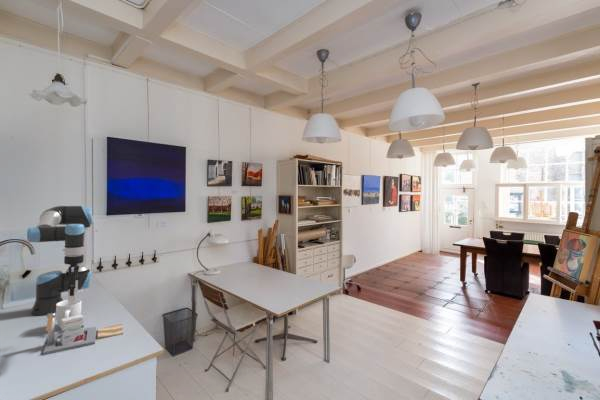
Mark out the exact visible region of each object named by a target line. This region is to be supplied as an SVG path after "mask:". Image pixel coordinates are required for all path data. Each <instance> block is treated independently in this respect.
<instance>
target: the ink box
mask: <svg viewBox="0 0 600 400" xmlns="http://www.w3.org/2000/svg"><path fill="white" fill-rule="evenodd" d="M59 327H60V328H59V329H60V330H59V331H60V332H59V333H60V338H59V340H60V341H59V342H60V344H61V346H63V345H68V344H72V343H76V342H80V341H82V340H84V339H85V338H84V334H85V333H84V329H85V316H84V315H83V314H82V313H81V314H80V315H76V316H72V317H68V318H64V319H61V326H59Z"/></svg>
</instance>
